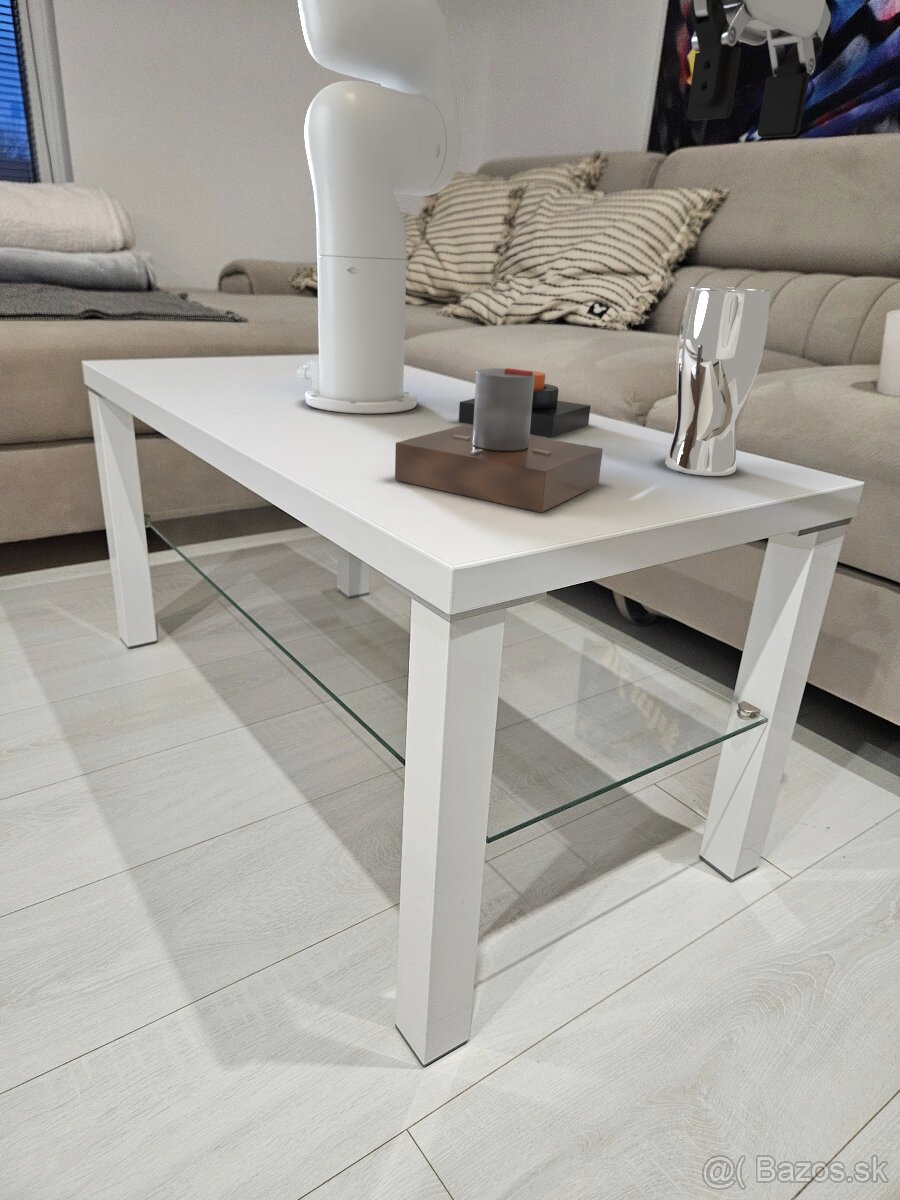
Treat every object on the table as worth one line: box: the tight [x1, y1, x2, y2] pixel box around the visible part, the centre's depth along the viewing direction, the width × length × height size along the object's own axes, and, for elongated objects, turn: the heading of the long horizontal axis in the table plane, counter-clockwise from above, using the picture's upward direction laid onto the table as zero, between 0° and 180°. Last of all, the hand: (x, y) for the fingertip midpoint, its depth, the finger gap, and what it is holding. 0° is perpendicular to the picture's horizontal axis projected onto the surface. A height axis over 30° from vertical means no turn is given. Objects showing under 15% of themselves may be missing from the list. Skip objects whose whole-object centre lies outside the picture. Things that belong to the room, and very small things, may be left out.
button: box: [532, 370, 546, 390], centre depth 87 cm, size 4×4×2 cm
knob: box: [472, 367, 535, 451], centre depth 63 cm, size 4×4×6 cm
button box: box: [458, 383, 591, 439], centre depth 88 cm, size 11×9×4 cm
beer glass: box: [664, 285, 773, 477], centre depth 70 cm, size 7×7×15 cm
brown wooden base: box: [394, 424, 604, 514], centre depth 65 cm, size 13×10×3 cm
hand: (744, 127), depth 60 cm, fingers open, 9 cm apart
